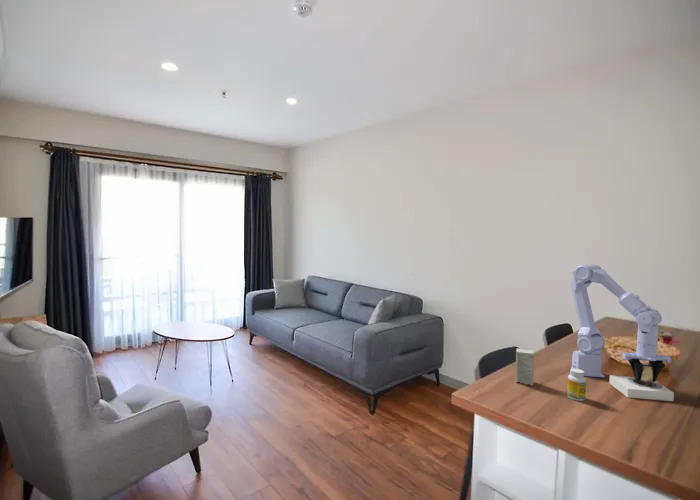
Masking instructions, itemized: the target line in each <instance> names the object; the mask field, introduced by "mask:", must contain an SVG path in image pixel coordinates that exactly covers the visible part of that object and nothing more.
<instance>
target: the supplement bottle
mask: <svg viewBox="0 0 700 500" xmlns="http://www.w3.org/2000/svg"><path fill="white" fill-rule="evenodd" d="M569 371H570V372H569V374H568V376H567V390H566V395H567V397H568V398H569V399H571V400H573V401H577V402H582V401H585V399H586V389H587V379H586V377H585V376H584V371H583V370H580V369H571V368H570V370H569Z"/></svg>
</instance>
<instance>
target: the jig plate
mask: <svg viewBox="0 0 700 500" xmlns="http://www.w3.org/2000/svg"><path fill="white" fill-rule="evenodd" d="M609 384H610V385H611V386H612V387H614V389H616V390H618V391H619V392H620V393H622V395H624V396H625V397H626V398H630V399H631V398H632V399H642V400H643V399H645V400H655V401H666V402H667V401H668V402H674V398H675V396H674V395H675V392H674V391H672V390H671V389H669V388H667V387H666V386H664V385H663V384H661V383H659V382H658V381H656V382H653V387H648V386H643V385H640V384H637V380H636V379H635V378H634V376H624V375H623V376H622V375H611V374H610V375H609Z"/></svg>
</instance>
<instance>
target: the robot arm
mask: <svg viewBox="0 0 700 500" xmlns="http://www.w3.org/2000/svg"><path fill="white" fill-rule="evenodd" d="M592 283H596V284H600V285H602V286H603V287H604V288H606V289H607V291H609V292H610V293H612V294H613V295H614V296H615V297H616V298H618V303H619V304H620V306H622V307H623V308H624V309H625V310H626V311H627V312H629V314H631V315H632V316H633V318H634V320H635V322H636V323H637V333H636V334H637V338H636V351H635V352H622V354H621V357H622V359H623V360H625V361H628V362H629V364H630V367H631V369H632V373H633V377H634V378H635V379H636V380H638V381H640V378H641V369H642V366H643V364H642V363H643V362H641V361H646V362H647V361H648V364H650V365H653V366H654V371H653V382H657V379H658V376H659V375H660V373H661V371H662V370H663V369H664V368H666V367H665V366H666V364H665V363H667V364H668V363H671V362H672V357H670V356H669V355H663V354H662V355H661V354H658V341H659V324H661V322H662V315H661V313H660V312H659V310H657V309H654V308H652V306H650V305H647V304H646V303H645V301H642V299H640V298H641V297H640V295H638V294H635V293H633V292H627V291H626V290H625V288H623V287H622V286H621V285H619V283H618V282H617V281H615V279H613V278H612V277H611V276H610V275H609V274H608V273H607V271H606V270H605V269H603V268H602V267H601V266H600V265H598V264H595V263H593V264H581V265H578V266H576V267H575V268H574V269H573V270H572V279H571V282H570V289H571V294H572V298H573V303H574V307H575V311H576V315H577V320H578V323H579V324H578V326H579V330H578V332H577V341H576V345H577V348H579V350H573V352H572V355H571V356H572V357H571V367H570V370H571V369H580V370H583V371H584V376H583V377H595V378H606V375H604V374H603V373H602V371H601V368H602V349H603V348H604V347H605V346H606V340H605V338H604V337H603V335H602V334H601V331H600V329H598V327H596V323H595V318H594V314H593V310H592V309H593V308H592V306H591V302H590V298H589V293H588V287H589V286H590V285H591V284H592Z"/></svg>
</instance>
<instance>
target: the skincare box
mask: <svg viewBox="0 0 700 500" xmlns="http://www.w3.org/2000/svg"><path fill="white" fill-rule="evenodd" d="M534 377H535V351H534V350H533V349H525V348H516V350H515V383H516V382H521V383H526V384H525V385H527V384H531V385H530V386H534V381H535V380H534V379H535V378H534ZM521 383H520V384H521Z"/></svg>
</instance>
